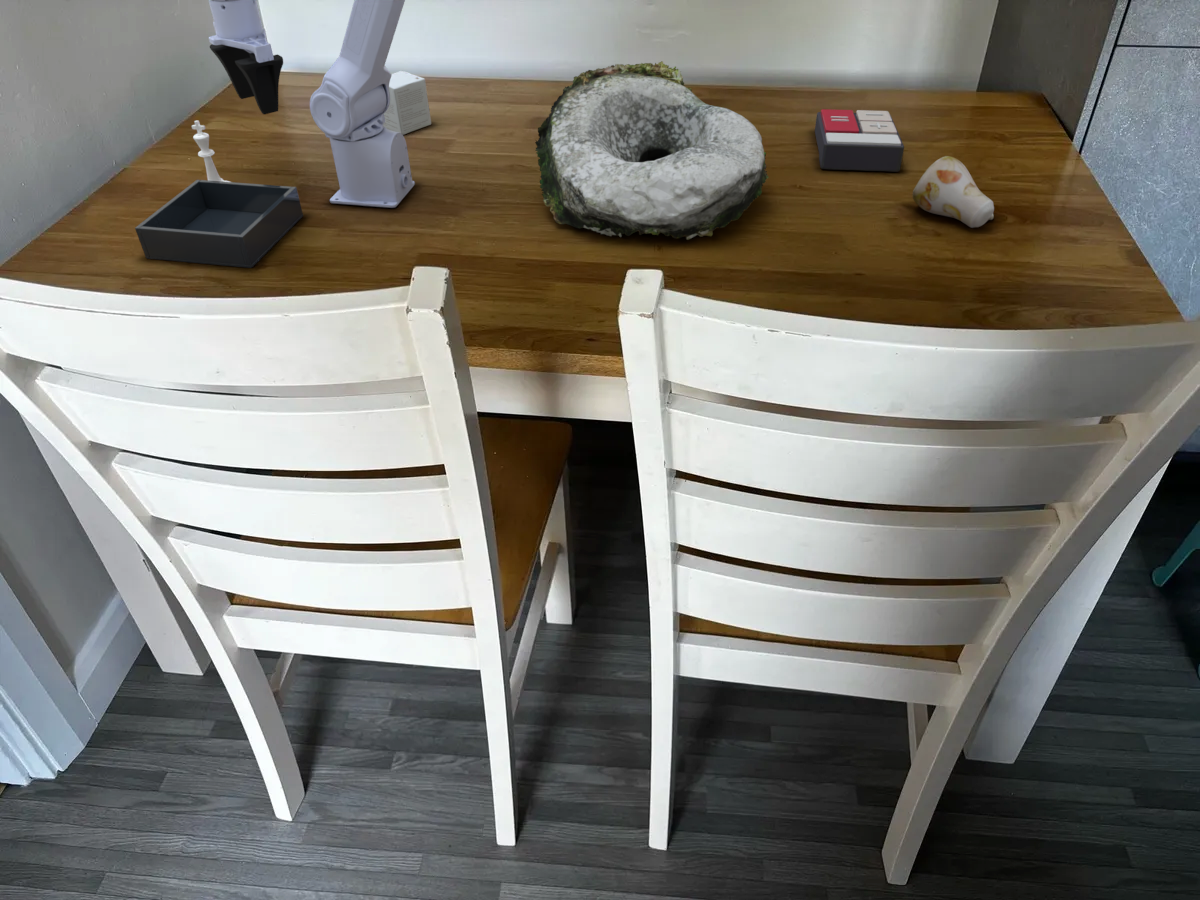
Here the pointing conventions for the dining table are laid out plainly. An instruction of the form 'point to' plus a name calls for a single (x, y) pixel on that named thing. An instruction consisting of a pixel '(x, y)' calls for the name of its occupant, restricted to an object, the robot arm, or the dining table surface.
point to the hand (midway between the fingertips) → (258, 104)
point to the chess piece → (206, 152)
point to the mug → (952, 193)
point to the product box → (407, 103)
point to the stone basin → (646, 155)
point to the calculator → (858, 140)
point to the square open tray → (220, 223)
